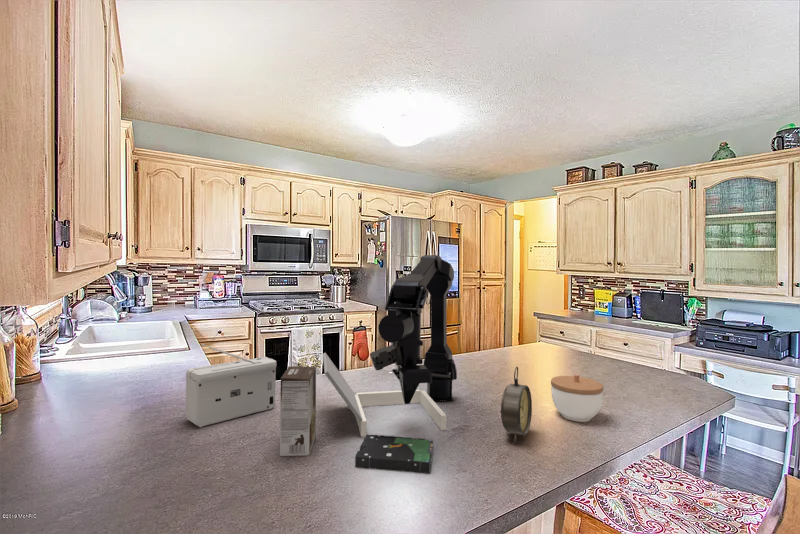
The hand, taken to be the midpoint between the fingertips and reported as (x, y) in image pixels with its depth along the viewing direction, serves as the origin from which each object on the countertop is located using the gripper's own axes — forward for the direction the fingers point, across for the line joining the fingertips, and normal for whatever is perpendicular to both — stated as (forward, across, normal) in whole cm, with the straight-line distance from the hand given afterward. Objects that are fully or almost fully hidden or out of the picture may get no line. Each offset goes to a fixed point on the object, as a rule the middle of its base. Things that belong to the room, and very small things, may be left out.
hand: (406, 403), depth 89 cm
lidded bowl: (+8, -4, +47) cm, 48 cm away
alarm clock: (+8, +4, +25) cm, 27 cm away
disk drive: (+9, +9, -4) cm, 13 cm away
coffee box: (+8, 0, -24) cm, 25 cm away
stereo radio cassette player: (+8, -21, -41) cm, 47 cm away
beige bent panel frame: (+8, -12, -4) cm, 15 cm away
